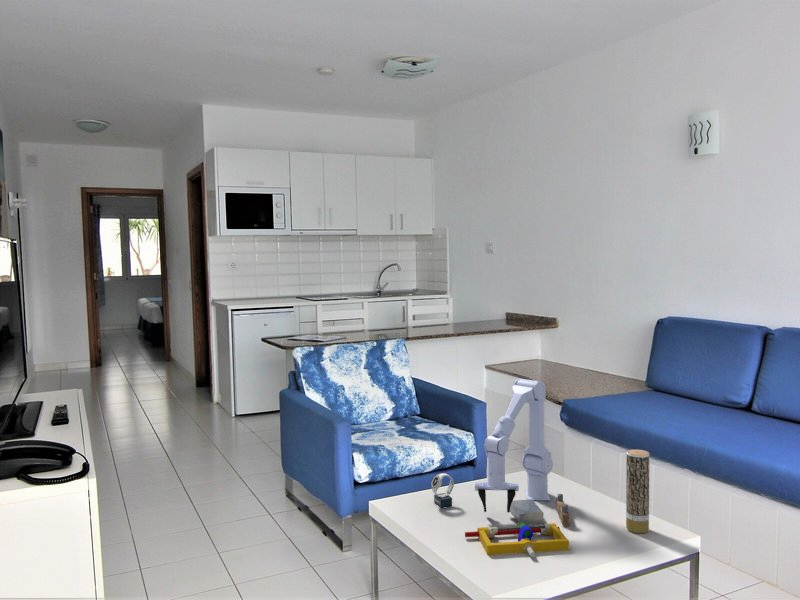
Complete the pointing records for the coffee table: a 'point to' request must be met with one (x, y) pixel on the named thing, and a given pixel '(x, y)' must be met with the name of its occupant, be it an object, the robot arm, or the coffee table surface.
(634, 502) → the brown bark patterned canister
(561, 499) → the bench stop
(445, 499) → the watch
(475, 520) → the coffee table surface
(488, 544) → the mechanical clamp
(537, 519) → the grey metal block
